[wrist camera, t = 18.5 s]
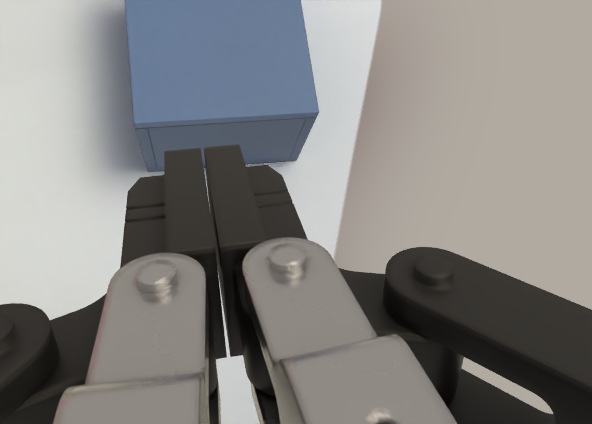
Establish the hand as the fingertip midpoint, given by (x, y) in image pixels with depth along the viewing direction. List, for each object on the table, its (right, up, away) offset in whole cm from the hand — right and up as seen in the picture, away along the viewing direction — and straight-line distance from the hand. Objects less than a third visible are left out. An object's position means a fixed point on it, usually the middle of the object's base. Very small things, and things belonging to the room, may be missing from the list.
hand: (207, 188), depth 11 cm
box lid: (-4, +14, +28) cm, 32 cm away
